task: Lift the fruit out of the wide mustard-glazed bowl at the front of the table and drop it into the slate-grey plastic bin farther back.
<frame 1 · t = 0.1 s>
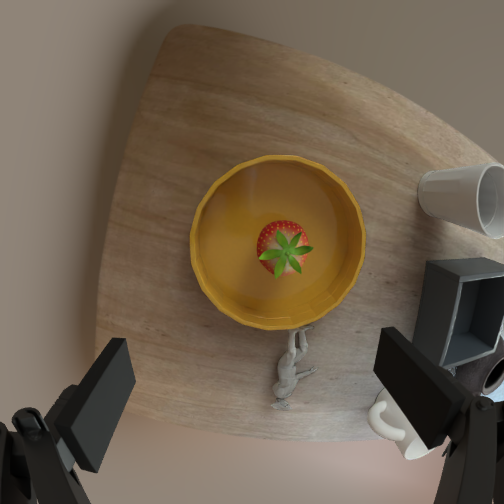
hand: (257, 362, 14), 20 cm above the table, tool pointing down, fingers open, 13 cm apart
teapot: (479, 362, 41), on the table
bin: (451, 301, 37), on the table
soldier figure: (288, 358, 37), on the table
bowl: (275, 239, 33), on the table
mug: (386, 395, 40), on the table
cup: (434, 193, 33), on the table
fruit: (276, 240, 33), resting on bowl
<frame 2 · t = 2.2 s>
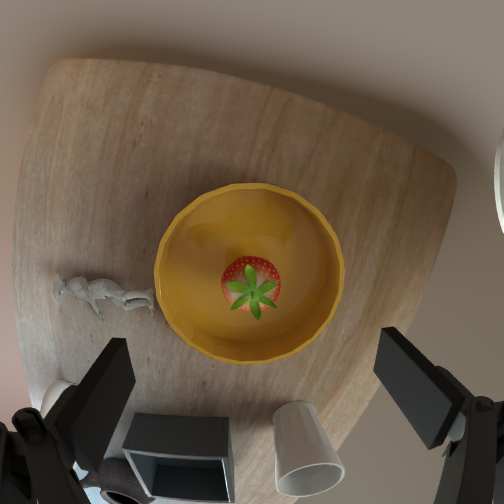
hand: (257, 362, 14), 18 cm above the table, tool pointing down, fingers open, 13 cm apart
teapot: (124, 477, 39), on the table
bin: (187, 444, 37), on the table
soldier figure: (111, 288, 31), on the table
bowl: (248, 269, 31), on the table
mug: (78, 392, 34), on the table
cup: (294, 415, 37), on the table
fruit: (248, 270, 31), resting on bowl
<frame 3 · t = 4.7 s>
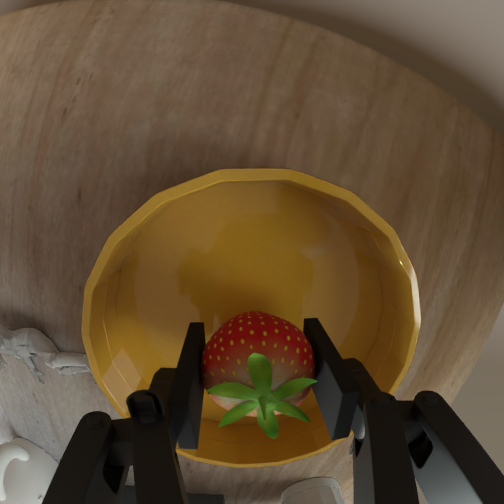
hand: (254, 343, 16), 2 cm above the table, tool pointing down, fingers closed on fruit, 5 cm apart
soldier figure: (45, 339, 18), on the table
bowl: (251, 324, 18), on the table
mug: (35, 450, 21), on the table
cup: (309, 490, 23), on the table
fruit: (252, 326, 18), resting on bowl, touching gripper
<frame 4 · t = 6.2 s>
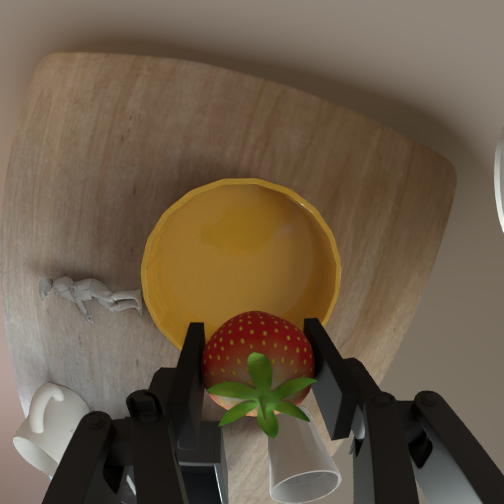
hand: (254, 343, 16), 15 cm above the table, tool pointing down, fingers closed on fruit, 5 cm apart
teapot: (116, 481, 37), on the table
bin: (179, 449, 35), on the table
soldier figure: (98, 289, 29), on the table
bowl: (240, 269, 30), on the table
mug: (68, 395, 32), on the table
cup: (288, 420, 35), on the table
fruit: (252, 326, 18), point 13 cm above the table, touching gripper
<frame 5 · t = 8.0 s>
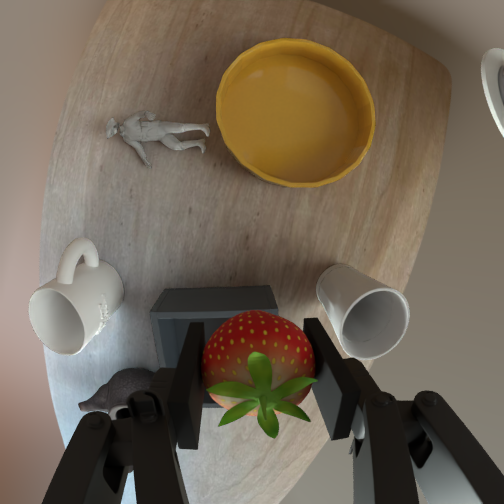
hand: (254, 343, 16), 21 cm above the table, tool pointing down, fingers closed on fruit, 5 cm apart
teapot: (137, 404, 41), on the table
bin: (220, 334, 39), on the table
soldier figure: (162, 136, 33), on the table
bowl: (292, 115, 33), on the table
mug: (100, 273, 36), on the table
cup: (338, 286, 38), on the table
fruit: (252, 325, 18), point 19 cm above the table, touching gripper
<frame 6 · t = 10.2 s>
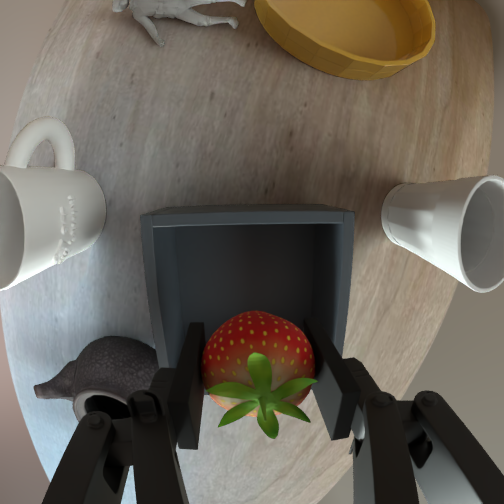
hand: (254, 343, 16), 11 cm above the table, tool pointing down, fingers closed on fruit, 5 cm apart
teapot: (120, 394, 29), on the table
bin: (246, 281, 26), on the table
soldier figure: (181, 17, 21), on the table
bowl: (340, 8, 21), on the table
mug: (76, 190, 24), on the table
cup: (406, 214, 26), on the table
fruit: (252, 326, 18), point 9 cm above the table, touching gripper
when the fingers open (8 cm above the table, at t = 11.5 s): fruit drops 4 cm, resting on bin.
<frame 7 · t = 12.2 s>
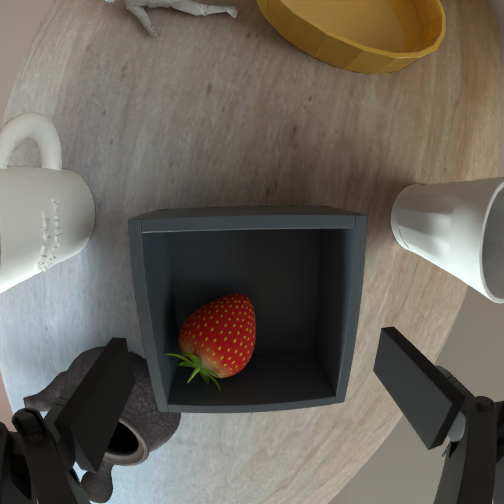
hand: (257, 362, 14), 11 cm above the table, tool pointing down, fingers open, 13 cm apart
teapot: (114, 405, 27), on the table
bin: (246, 289, 24), on the table
soldier figure: (176, 7, 19), on the table
mug: (64, 191, 22), on the table
cup: (416, 217, 24), on the table
fruit: (246, 297, 23), point 1 cm above the table, touching bin
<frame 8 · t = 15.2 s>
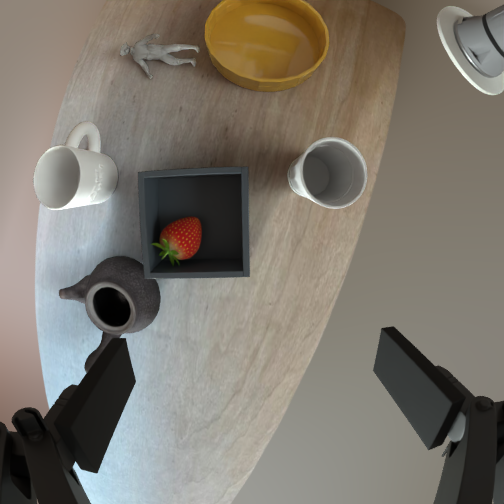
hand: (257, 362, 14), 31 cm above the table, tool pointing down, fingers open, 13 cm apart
teapot: (117, 306, 45), on the table
bin: (199, 218, 42), on the table
soldier figure: (162, 58, 37), on the table
bowl: (265, 43, 37), on the table
mug: (99, 165, 40), on the table
cup: (308, 176, 42), on the table
fruit: (198, 220, 41), point 1 cm above the table, touching bin
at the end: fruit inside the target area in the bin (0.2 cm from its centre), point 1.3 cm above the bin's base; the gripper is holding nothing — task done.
